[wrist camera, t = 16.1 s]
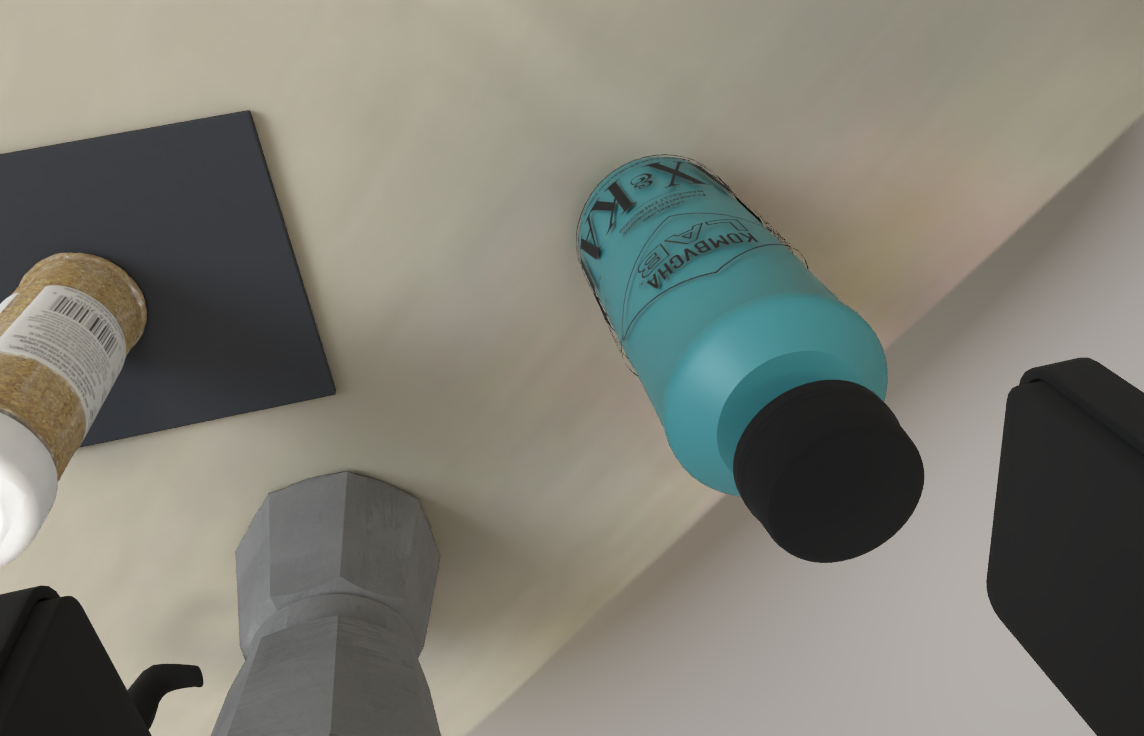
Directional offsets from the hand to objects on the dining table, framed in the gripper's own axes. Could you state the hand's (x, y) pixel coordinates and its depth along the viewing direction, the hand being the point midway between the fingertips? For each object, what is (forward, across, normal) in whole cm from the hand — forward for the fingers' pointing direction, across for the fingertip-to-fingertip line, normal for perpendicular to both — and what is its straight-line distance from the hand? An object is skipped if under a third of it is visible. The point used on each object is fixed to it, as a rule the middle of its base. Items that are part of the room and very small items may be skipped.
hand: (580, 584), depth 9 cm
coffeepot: (+28, +10, +20) cm, 36 cm away
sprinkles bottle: (+28, +15, +6) cm, 32 cm away
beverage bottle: (+28, -7, +7) cm, 30 cm away
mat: (+28, +16, +6) cm, 33 cm away
